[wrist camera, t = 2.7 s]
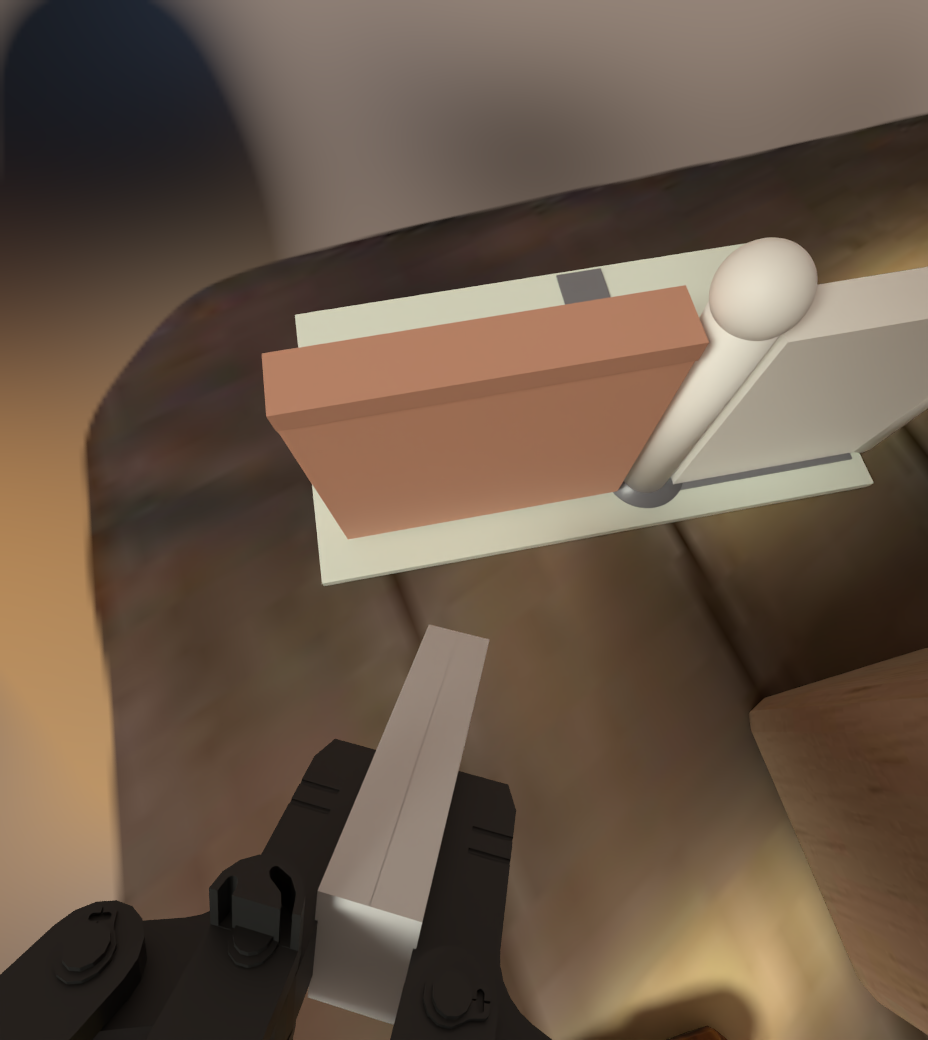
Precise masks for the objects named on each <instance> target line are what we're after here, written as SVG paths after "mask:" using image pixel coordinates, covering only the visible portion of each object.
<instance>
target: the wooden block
mask: <svg viewBox="0 0 928 1040" xmlns="http://www.w3.org/2000/svg"><path fill="white" fill-rule="evenodd" d="M749 719H750V727H751V731H752V734H753V736H754V738H755V741H756V743H757V745H758V747H759V750H760V752H761V754H762V757H763V759H764V761H765V764H766V766H767V768H768V771H769V773H770V775H771V778H772V780H773V782H774V785H775V787H776V789H777V792H778V794H779V796H780V798H781V801H782V803H783V805H784V808H785V810H786V812H787V815H788V817H789V819H790V822H791V824H792V826H793V829H794V831H795V833H796V836H797V838H798V840H799V843H800V845H801V847H802V850H803V852H804V854H805V856H806V859H807V861H808V863H809V866H810V868H811V870H812V873H813V875H814V877H815V880H816V882H817V884H818V887H819V889H820V891H821V894H822V896H823V898H824V901H825V903H826V905H827V907H828V910H829V912H830V914H831V917H832V919H833V921H834V924H835V926H836V928H837V931H838V933H839V935H840V938H841V940H842V942H843V945H844V947H845V949H846V952H847V954H848V956H849V958H850V961H851V963H852V965H853V968H854V970H855V972H856V974H857V976H858V978H859V980H860V981H861V982H862V984H863V985H864V986H865V987H866V988H867V989H868V991H869V992H870V993H871V994H872V995H873V996H874V998H875V999H876V1000H877V1001H878V1002H879V1003H881V1004H882V1005H884V1006H885V1007H887V1008H888V1009H890V1010H891V1011H893V1012H894V1013H896V1014H897V1015H899V1016H900V1017H902V1018H903V1019H905V1020H906V1021H908V1022H909V1023H911V1024H912V1025H914V1026H915V1027H917V1028H918V1029H920V1030H921V1031H923V1032H924V1033H926V1034H927V1035H928V647H927V648H924V649H921V650H917V651H914V652H911V653H908V654H904V655H901V656H898V657H895V658H892V659H888V660H885V661H882V662H879V663H875V664H872V665H869V666H866V667H863V668H859V669H856V670H853V671H850V672H846V673H843V674H840V675H837V676H833V677H830V678H827V679H824V680H821V681H817V682H814V683H811V684H808V685H804V686H801V687H798V688H795V689H792V690H788V691H785V692H782V693H779V694H775V695H772V696H769V697H766V698H764V699H763V700H762V701H761V702H760V703H759V704H758V705H757V706H756V707H755V708H753V709H752V710H751V712H750V713H749Z"/></svg>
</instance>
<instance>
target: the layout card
mask: <svg viewBox="0 0 928 1040" xmlns="http://www.w3.org/2000/svg"><path fill="white" fill-rule="evenodd" d="M745 244H747V243H745ZM743 245H744V244H739V245H733V246H726V247H720V248H714V249H708V250H701V251H695V252H689V253H682V254H676V255H670V256H663V257H657V258H651V259H644V260H638V261H632V262H626V263H619V264H613V265H607V266H600V267H594V268H588V269H581V270H575V271H569V272H563V273H556V274H550V275H544V276H537V277H531V278H525V279H518V280H512V281H506V282H499V283H493V284H487V285H481V286H474V287H468V288H462V289H455V290H449V291H443V292H436V293H430V294H424V295H418V296H411V297H405V298H399V299H392V300H386V301H380V302H373V303H367V304H361V305H355V306H348V307H342V308H336V309H329V310H323V311H317V312H310V313H304V314H298V315H295V319H296V329H297V339H298V348H300V347H306V346H312V345H318V344H324V343H331V342H337V341H343V340H349V339H355V338H362V337H368V336H374V335H380V334H386V333H393V332H399V331H405V330H411V329H417V328H424V327H430V326H436V325H442V324H448V323H454V322H461V321H467V320H473V319H479V318H485V317H492V316H498V315H504V314H510V313H516V312H523V311H529V310H535V309H541V308H547V307H553V306H560V305H566V304H572V303H578V302H584V301H591V300H597V299H603V298H609V297H615V296H622V295H628V294H634V293H640V292H646V291H653V290H659V289H665V288H671V287H677V286H683V285H686V287H687V289H688V292H689V294H690V297H691V299H692V301H693V304H694V306H695V309H696V311H697V314H698V316H699V318H700V316H701V314H702V312H703V310H704V308H705V307H706V305H707V303H708V301H709V290H710V286H711V282H712V279H713V277H714V275H715V273H716V271H717V269H718V268H719V266H720V265H721V264H722V262H723V261H724V260H725V259H726V258H727V257H728V256H729V255H730V254H731V253H732V252H733V251H735V250H736V249H738V248H739V247H741V246H743ZM871 484H873V480H872V478H871V476H870V474H869V472H868V470H867V468H866V466H865V464H864V462H863V460H862V458H861V455H860V453H856V452H851V453H845V454H840V455H834V456H828V457H823V458H817V459H812V460H806V461H801V462H795V463H789V464H784V465H778V466H773V467H767V468H762V469H756V470H750V471H745V472H739V473H734V474H728V475H723V476H717V477H711V478H706V479H700V480H695V481H689V482H684V483H678V484H673V482H672V479H671V477H670V478H669V479H668V481H667V482H666V483H665V485H664V486H663V487H662V488H660V489H659V490H657V491H655V492H651V493H642V492H638V491H635V490H633V489H631V488H630V487H629V486H627V485H626V484H625V482H624V481H623V483H622V484H621V486H620V488H619V489H618V491H616V492H610V493H605V494H599V495H594V496H588V497H582V498H577V499H571V500H566V501H560V502H555V503H549V504H543V505H538V506H532V507H527V508H521V509H516V510H510V511H504V512H499V513H493V514H488V515H482V516H476V517H471V518H465V519H460V520H454V521H449V522H443V523H437V524H432V525H426V526H421V527H415V528H410V529H404V530H398V531H393V532H387V533H382V534H376V535H370V536H365V537H359V538H354V539H347V537H346V536H345V534H344V533H343V531H342V530H341V528H340V526H339V525H338V523H337V522H336V520H335V519H334V517H333V516H332V514H331V513H330V511H329V509H328V508H327V506H326V505H325V503H324V502H323V500H322V499H321V497H320V496H319V494H318V492H317V491H316V489H315V488H314V486H313V485H312V488H313V498H314V508H315V517H316V527H317V537H318V547H319V557H320V567H321V577H322V584H323V585H324V586H327V585H333V584H338V583H344V582H349V581H355V580H360V579H366V578H371V577H376V576H382V575H387V574H393V573H398V572H404V571H409V570H415V569H420V568H426V567H431V566H437V565H442V564H447V563H453V562H458V561H464V560H469V559H475V558H480V557H486V556H491V555H497V554H502V553H508V552H513V551H519V550H524V549H529V548H535V547H540V546H546V545H551V544H557V543H562V542H568V541H573V540H579V539H584V538H590V537H595V536H601V535H606V534H611V533H617V532H622V531H628V530H633V529H639V528H644V527H650V526H655V525H661V524H666V523H672V522H677V521H682V520H688V519H693V518H699V517H704V516H710V515H715V514H721V513H726V512H732V511H737V510H743V509H748V508H754V507H759V506H764V505H770V504H775V503H781V502H786V501H792V500H797V499H803V498H808V497H814V496H819V495H825V494H830V493H835V492H841V491H846V490H852V489H857V488H863V487H868V486H870V485H871Z"/></svg>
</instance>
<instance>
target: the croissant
mask: <svg viewBox="0 0 928 1040" xmlns="http://www.w3.org/2000/svg"><path fill="white" fill-rule="evenodd" d="M667 1040H727V1039H726V1038H725V1037H724V1036H722V1035H721V1034H720V1033H719V1032H717V1031H716V1030H715V1029H713V1028H711V1027H709V1026H705V1027H702V1028H699V1029H696V1030H693V1031H690V1032H687V1033H684V1034H681V1035H678V1036H676V1037H673V1038H670V1039H667Z"/></svg>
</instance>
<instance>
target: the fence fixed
mask: <svg viewBox="0 0 928 1040" xmlns="http://www.w3.org/2000/svg"><path fill="white" fill-rule="evenodd" d="M817 281H818V278H817V270H816V267H815V264H814V262H813V260H812V258H811V256H810V255H809V254H808V252H807V251H806V250H805V249H804V248H802V247H801V246H800V245H798V244H797V243H795V242H793V241H790V240H787V239H783V238H774V237H771V238H762V239H757V240H754V241H751V242H749V243H747V244H744V245H743V246H741V247H739V248H738V249H736V250H735V251H733V252H732V253H731V254H730V255H729V256H728V257H727V258H726V259H725V260H724V261H723V262H722V264H721V265H720V266H719V268H718V269H717V271H716V273H715V275H714V277H713V279H712V282H711V286H710V290H709V301H708V303H707V305H706V307H705V308H704V310H703V312H702V314H701V316H700V318H699V319H700V321H701V324H702V326H703V328H704V331H705V333H706V336H707V338H708V341H709V344H708V345H707V347H706V349H705V350H704V352H703V354H702V355H701V357H700V359H699V360H698V361H695V362H694V364H693V365H692V367H691V369H690V370H689V372H688V374H687V376H686V377H685V379H684V381H683V382H682V384H681V386H680V387H679V389H678V391H677V392H676V394H675V396H674V397H673V399H672V401H671V402H670V404H669V406H668V407H667V409H666V411H665V412H664V414H663V416H662V417H661V419H660V421H659V422H658V424H657V426H656V427H655V429H654V431H653V432H652V434H651V436H650V437H649V439H648V441H647V442H646V444H645V446H644V447H643V449H642V451H641V452H640V454H639V456H638V457H637V459H636V461H635V462H634V464H633V466H632V468H631V469H630V471H629V473H628V474H627V476H626V478H625V479H624V482H625V484H626V485H627V486H629V487H630V488H631V489H633V490H635V491H638V492H642V493H651V492H655V491H657V490H659V489H660V488H662V487H663V486H664V485H665V483H666V482H667V481H668V479H669V478H670V477H671V479H672V482H673V484H678V483H684V482H689V481H695V480H700V479H706V478H711V477H717V476H723V475H728V474H734V473H739V472H745V471H750V470H756V469H762V468H767V467H773V466H778V465H784V464H789V463H795V462H801V461H806V460H812V459H817V458H823V457H828V456H834V455H840V454H845V453H851V452H856V453H862V452H866V451H869V450H870V449H872V448H873V447H874V446H876V445H877V444H879V443H880V442H881V441H883V440H884V439H886V438H887V437H889V436H890V435H891V434H893V433H894V432H896V431H897V430H898V429H900V428H901V427H903V426H904V425H905V424H907V423H908V422H910V421H911V420H912V419H914V418H915V417H917V416H918V415H919V414H921V413H922V412H924V411H925V410H926V409H928V267H923V268H917V269H911V270H905V271H898V272H892V273H886V274H880V275H874V276H868V277H862V278H856V279H849V280H843V281H837V282H831V283H825V284H819V285H817Z"/></svg>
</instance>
